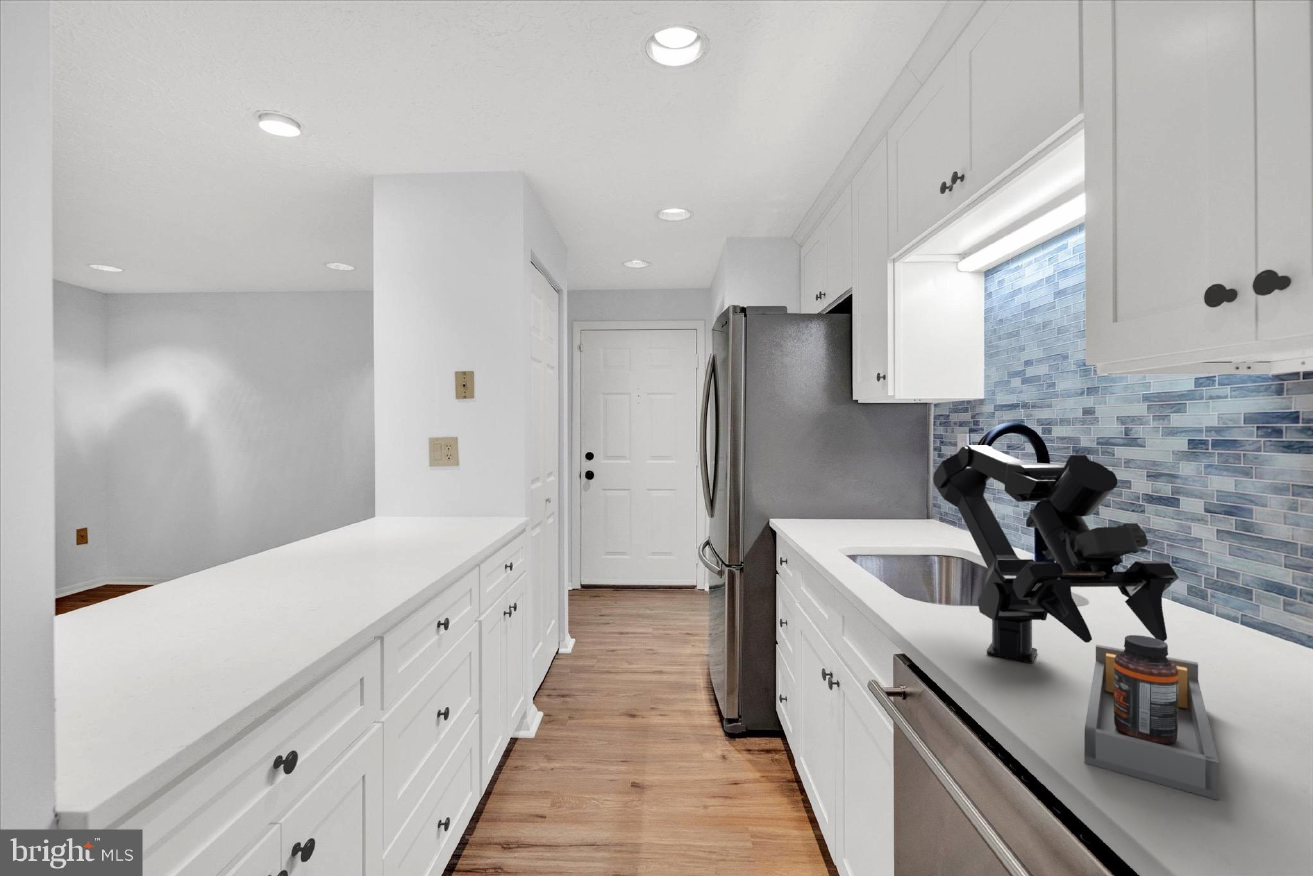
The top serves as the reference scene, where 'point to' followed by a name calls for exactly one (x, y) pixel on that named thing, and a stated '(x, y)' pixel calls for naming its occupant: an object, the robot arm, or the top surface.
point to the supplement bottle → (1146, 691)
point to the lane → (1166, 764)
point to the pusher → (1181, 680)
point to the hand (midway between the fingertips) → (1126, 641)
